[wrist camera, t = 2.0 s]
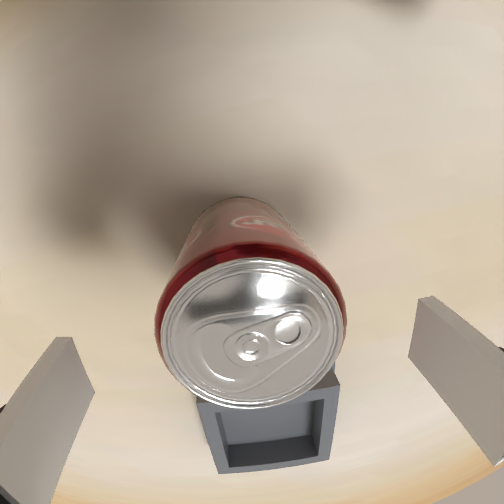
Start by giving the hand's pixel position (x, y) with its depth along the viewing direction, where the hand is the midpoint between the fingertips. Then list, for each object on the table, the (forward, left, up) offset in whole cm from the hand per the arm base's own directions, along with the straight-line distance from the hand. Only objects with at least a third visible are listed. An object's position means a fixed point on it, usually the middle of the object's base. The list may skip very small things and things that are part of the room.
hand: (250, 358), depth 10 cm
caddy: (+16, +1, -12) cm, 20 cm away
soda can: (0, 0, -12) cm, 12 cm away
